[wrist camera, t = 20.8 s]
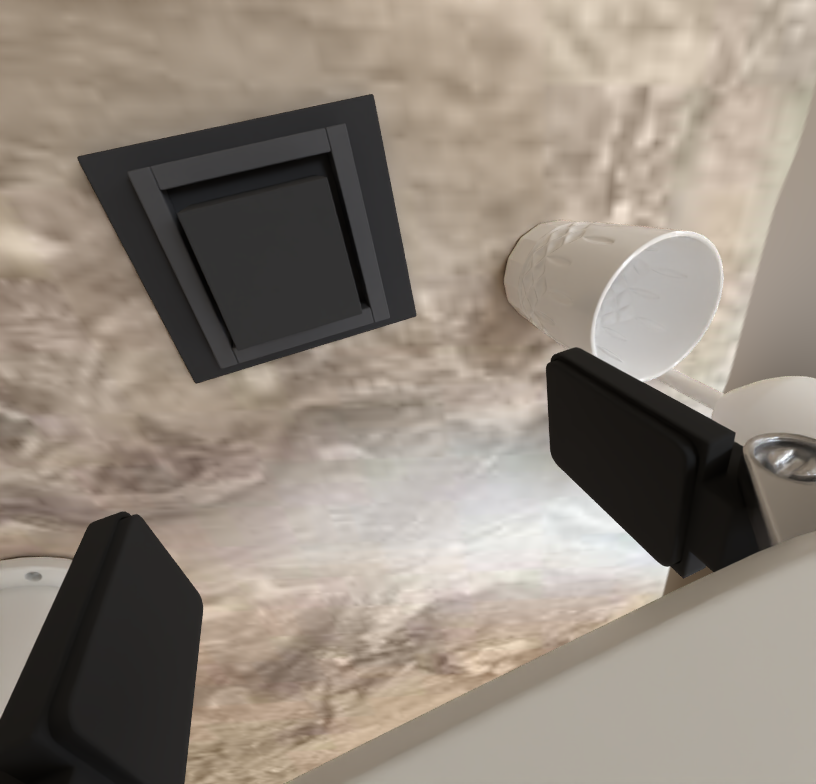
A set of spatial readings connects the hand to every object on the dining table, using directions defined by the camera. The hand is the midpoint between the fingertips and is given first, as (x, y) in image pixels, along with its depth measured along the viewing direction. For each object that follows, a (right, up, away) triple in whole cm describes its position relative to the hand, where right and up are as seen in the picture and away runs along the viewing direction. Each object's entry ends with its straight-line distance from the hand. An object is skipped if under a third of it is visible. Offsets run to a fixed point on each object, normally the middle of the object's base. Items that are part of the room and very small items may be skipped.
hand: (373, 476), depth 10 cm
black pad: (-6, +9, +14) cm, 18 cm away
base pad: (-7, +10, +15) cm, 19 cm away
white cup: (+10, +10, +21) cm, 25 cm away
